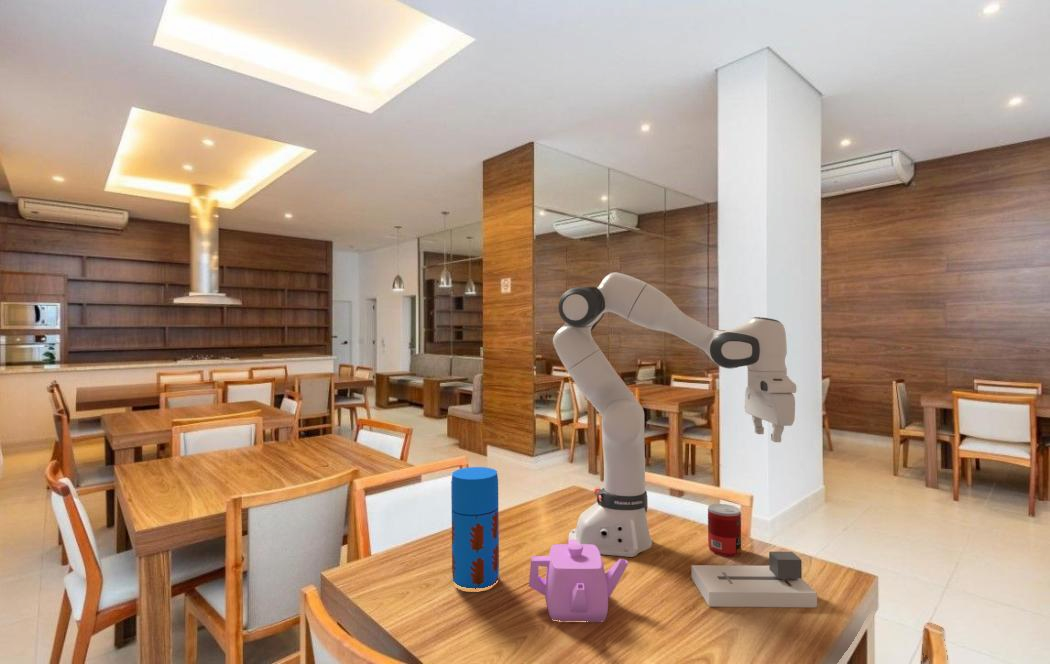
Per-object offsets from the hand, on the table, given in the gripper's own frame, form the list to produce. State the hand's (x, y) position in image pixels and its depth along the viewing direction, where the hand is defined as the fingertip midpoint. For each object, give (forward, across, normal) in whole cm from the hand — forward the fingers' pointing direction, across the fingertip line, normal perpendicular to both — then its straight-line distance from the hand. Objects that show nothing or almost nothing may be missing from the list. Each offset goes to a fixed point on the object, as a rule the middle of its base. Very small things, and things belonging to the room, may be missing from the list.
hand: (767, 437), depth 124 cm
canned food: (+31, -6, -9) cm, 33 cm away
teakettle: (+31, +22, -48) cm, 62 cm away
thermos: (+31, +12, -72) cm, 79 cm away
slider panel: (+31, +16, -10) cm, 36 cm away
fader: (+27, +15, -3) cm, 31 cm away
